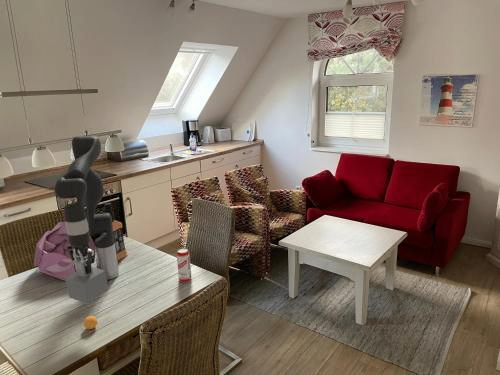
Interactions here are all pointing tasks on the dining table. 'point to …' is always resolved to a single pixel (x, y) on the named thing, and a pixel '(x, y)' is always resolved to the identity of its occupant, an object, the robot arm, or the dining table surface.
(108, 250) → the robot arm
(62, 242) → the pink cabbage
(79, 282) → the grey stepped block
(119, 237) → the whiskey bottle
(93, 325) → the ball
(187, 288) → the dining table surface
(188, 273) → the beer can
